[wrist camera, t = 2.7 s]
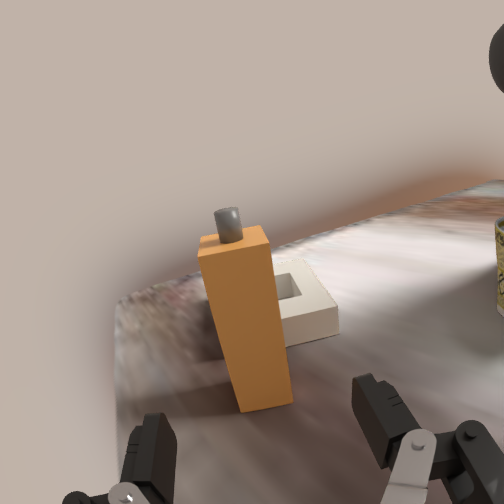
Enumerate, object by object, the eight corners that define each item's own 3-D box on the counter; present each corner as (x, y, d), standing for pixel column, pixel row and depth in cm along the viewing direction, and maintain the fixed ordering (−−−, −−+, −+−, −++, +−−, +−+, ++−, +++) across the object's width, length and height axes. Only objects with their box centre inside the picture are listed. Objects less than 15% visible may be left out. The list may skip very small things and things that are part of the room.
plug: (237, 379, 28) (195, 210, 22) (284, 370, 28) (255, 198, 23) (241, 413, 24) (190, 225, 18) (293, 402, 24) (263, 210, 18)
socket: (223, 297, 44) (217, 275, 43) (306, 280, 45) (303, 258, 44) (226, 358, 31) (218, 331, 30) (339, 333, 32) (337, 305, 30)
